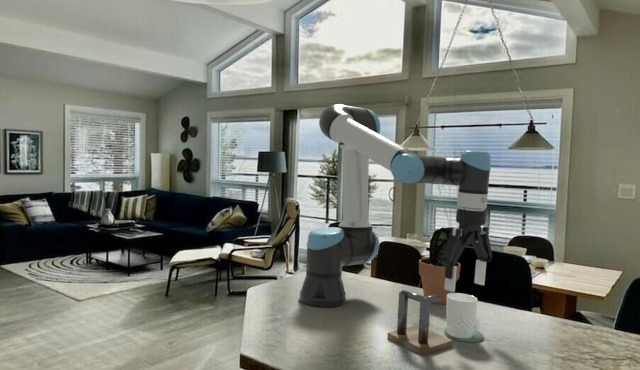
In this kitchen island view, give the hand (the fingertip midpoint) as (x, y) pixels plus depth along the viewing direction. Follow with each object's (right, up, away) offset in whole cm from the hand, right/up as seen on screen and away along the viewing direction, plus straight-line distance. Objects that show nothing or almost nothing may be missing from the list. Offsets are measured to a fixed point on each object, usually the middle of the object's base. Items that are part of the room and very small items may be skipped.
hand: (464, 287), depth 118 cm
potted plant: (+1, -12, +31) cm, 34 cm away
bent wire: (-14, -11, -6) cm, 19 cm away
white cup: (-2, -13, -1) cm, 13 cm away
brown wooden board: (-14, -13, -6) cm, 20 cm away
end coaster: (0, -13, 0) cm, 13 cm away
